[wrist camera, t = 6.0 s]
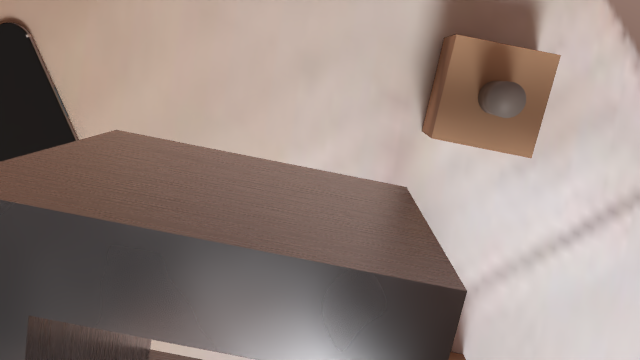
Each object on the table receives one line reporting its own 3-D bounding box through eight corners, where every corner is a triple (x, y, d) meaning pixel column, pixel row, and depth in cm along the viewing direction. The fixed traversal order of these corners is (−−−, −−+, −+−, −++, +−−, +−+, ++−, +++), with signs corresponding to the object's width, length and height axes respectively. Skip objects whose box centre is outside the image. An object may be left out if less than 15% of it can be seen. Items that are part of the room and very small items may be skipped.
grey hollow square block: (116, 129, 12) (-81, 184, 7) (406, 187, 13) (467, 291, 7) (87, 389, 14) (-96, 622, 8) (347, 439, 14) (353, 707, 8)
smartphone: (23, 305, 31) (-99, 63, 29) (29, 301, 32) (-89, 63, 29) (134, 268, 31) (19, 16, 28) (138, 264, 31) (27, 17, 29)
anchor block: (444, 38, 28) (466, 31, 23) (537, 56, 28) (579, 54, 23) (421, 131, 29) (439, 143, 24) (511, 149, 29) (547, 165, 24)
